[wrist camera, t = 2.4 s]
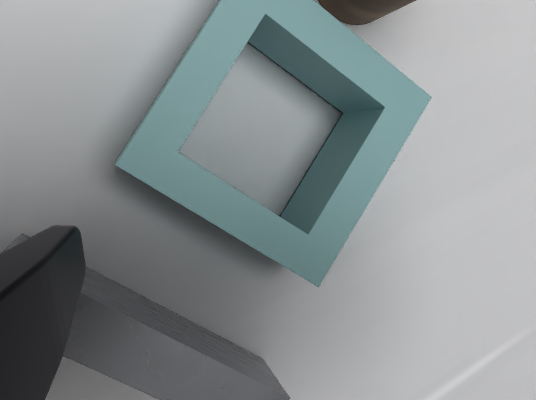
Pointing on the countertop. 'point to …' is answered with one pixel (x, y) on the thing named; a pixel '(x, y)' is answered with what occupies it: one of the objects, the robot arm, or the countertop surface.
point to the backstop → (160, 348)
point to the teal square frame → (329, 158)
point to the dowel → (361, 9)
